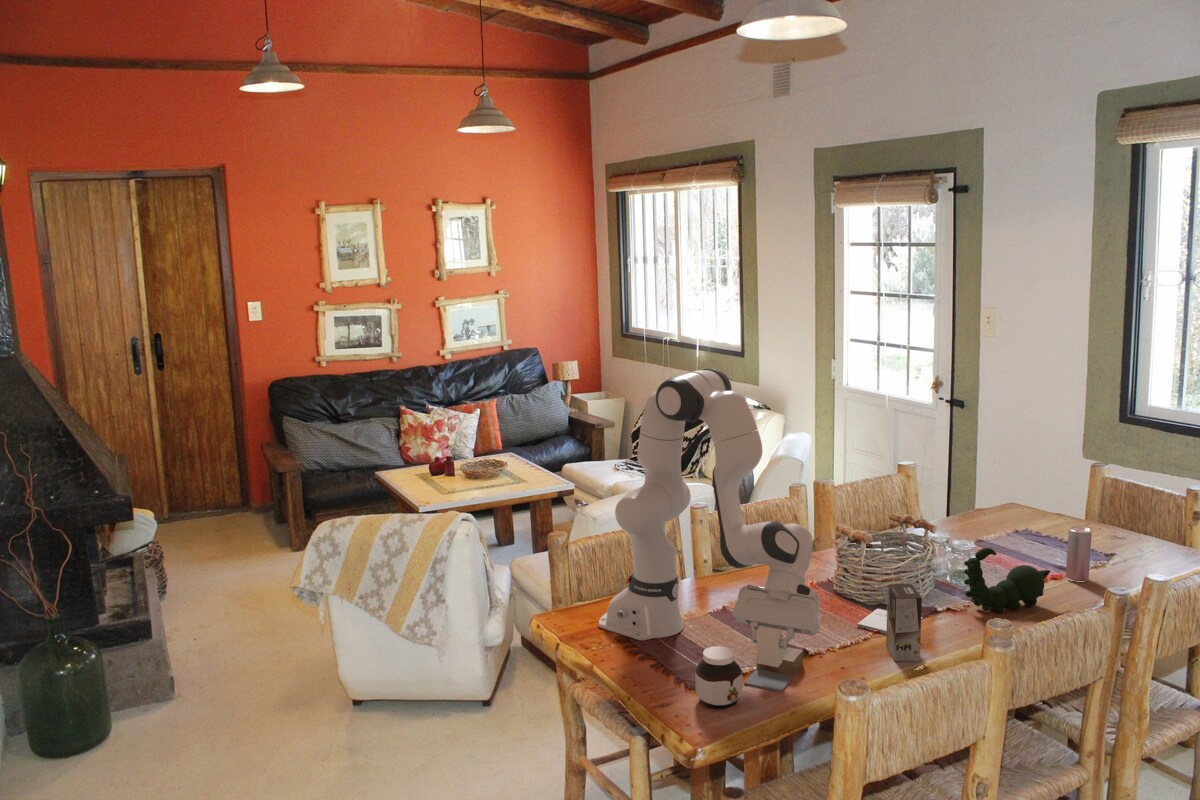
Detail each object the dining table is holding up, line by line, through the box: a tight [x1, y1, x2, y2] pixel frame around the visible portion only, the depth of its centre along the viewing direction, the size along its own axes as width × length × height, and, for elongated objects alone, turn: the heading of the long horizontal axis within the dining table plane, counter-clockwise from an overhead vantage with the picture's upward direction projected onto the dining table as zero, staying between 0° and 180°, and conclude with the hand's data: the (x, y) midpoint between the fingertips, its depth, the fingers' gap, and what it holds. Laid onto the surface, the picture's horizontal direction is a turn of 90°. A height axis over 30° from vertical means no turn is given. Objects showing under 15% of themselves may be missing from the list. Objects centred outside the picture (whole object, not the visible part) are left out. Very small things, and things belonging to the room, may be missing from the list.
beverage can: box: [1065, 525, 1093, 581], centre depth 289 cm, size 6×6×15 cm
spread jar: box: [694, 645, 743, 710], centre depth 228 cm, size 12×11×12 cm
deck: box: [756, 646, 804, 678], centre depth 242 cm, size 9×7×4 cm
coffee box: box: [885, 583, 923, 662], centre depth 247 cm, size 9×6×16 cm
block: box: [756, 626, 783, 667], centre depth 234 cm, size 5×3×8 cm, turn 60°
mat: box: [743, 668, 794, 693], centre depth 236 cm, size 9×8×1 cm
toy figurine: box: [963, 547, 1051, 614], centre depth 271 cm, size 9×19×25 cm
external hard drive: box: [856, 608, 887, 635], centre depth 266 cm, size 2×8×12 cm
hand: (768, 645), depth 234 cm, fingers closed on block, 5 cm apart
